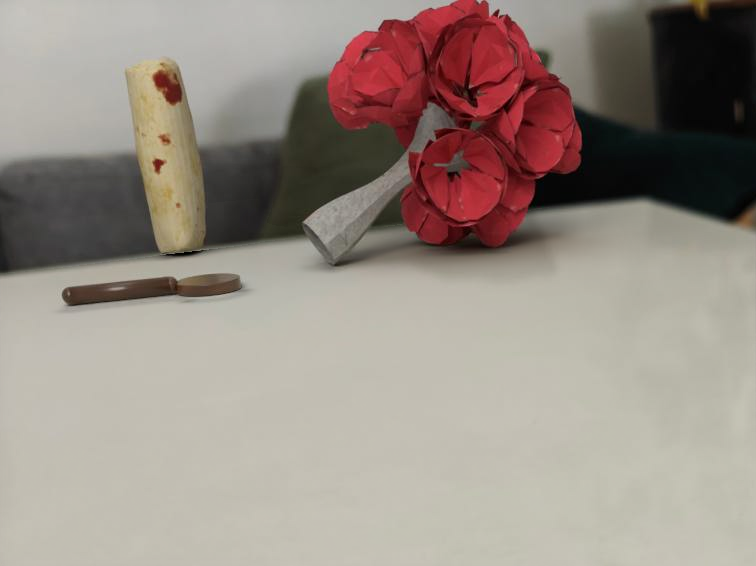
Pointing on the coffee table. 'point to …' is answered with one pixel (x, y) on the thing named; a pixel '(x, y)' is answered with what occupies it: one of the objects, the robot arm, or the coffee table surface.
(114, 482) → the coffee table surface
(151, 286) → the spoon
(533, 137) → the bouquet
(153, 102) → the food model
